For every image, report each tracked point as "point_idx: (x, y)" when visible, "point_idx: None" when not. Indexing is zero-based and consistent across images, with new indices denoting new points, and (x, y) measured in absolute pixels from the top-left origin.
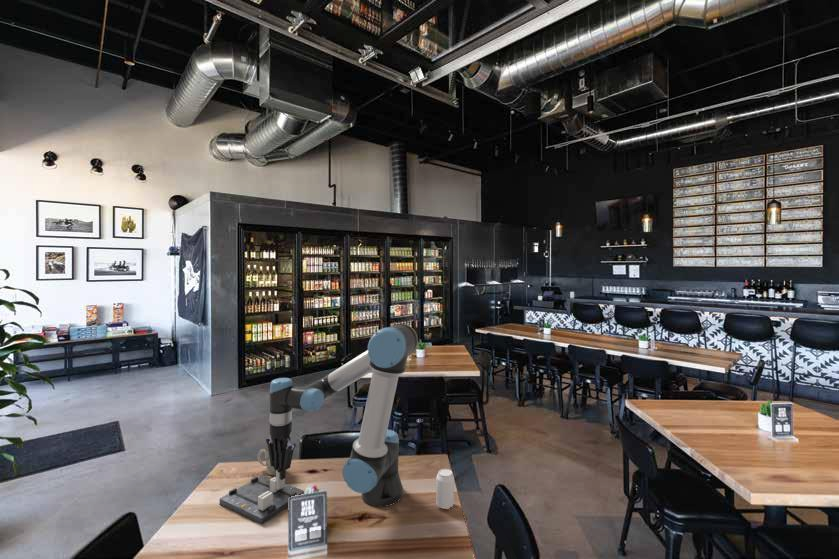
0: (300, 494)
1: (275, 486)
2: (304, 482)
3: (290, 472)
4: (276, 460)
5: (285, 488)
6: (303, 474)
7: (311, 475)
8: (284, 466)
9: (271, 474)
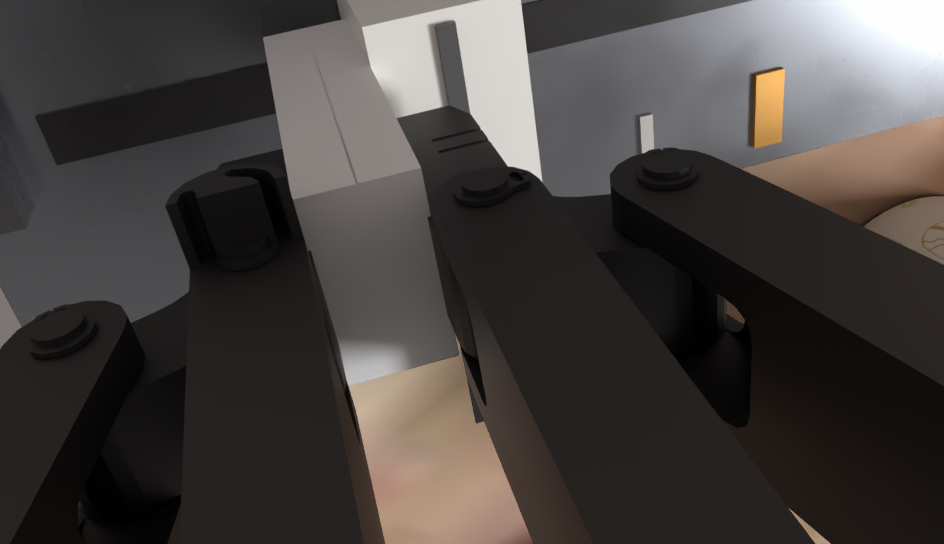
0: (4, 277)
1: (350, 23)
2: (388, 434)
3: None
4: (505, 365)
5: None
6: None
7: (461, 538)
8: (10, 420)
9: (884, 219)
